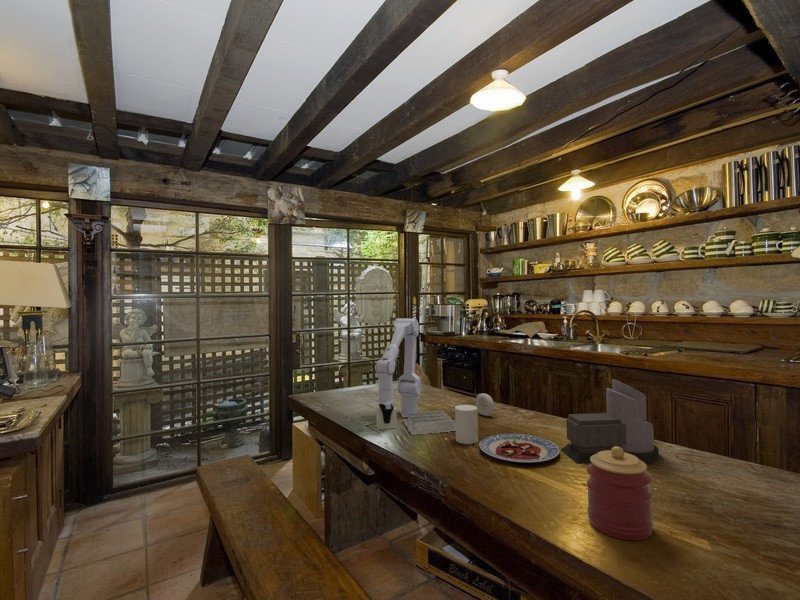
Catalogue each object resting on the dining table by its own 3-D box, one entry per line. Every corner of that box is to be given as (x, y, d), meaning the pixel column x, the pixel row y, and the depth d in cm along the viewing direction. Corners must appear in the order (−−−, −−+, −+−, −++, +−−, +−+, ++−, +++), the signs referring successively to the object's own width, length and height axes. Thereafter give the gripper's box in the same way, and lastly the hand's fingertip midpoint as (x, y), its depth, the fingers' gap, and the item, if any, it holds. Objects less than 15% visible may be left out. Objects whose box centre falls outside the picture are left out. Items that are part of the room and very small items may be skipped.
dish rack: (403, 421, 173) (402, 412, 173) (448, 418, 176) (447, 409, 176) (411, 435, 155) (410, 425, 155) (461, 431, 159) (460, 421, 159)
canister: (630, 509, 98) (628, 436, 98) (667, 541, 85) (665, 456, 85) (577, 511, 97) (575, 438, 97) (606, 543, 84) (604, 458, 84)
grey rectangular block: (376, 428, 165) (376, 408, 165) (395, 426, 166) (395, 407, 167) (377, 429, 163) (376, 410, 163) (396, 428, 164) (396, 408, 165)
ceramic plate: (567, 471, 121) (566, 461, 121) (479, 466, 126) (479, 456, 126) (552, 441, 146) (552, 433, 146) (479, 438, 151) (479, 430, 151)
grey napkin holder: (641, 444, 140) (639, 374, 140) (675, 462, 124) (673, 383, 125) (557, 448, 139) (555, 377, 139) (580, 467, 123) (578, 386, 123)
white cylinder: (479, 443, 144) (479, 410, 144) (457, 444, 145) (456, 410, 145) (476, 436, 153) (475, 404, 153) (454, 436, 153) (453, 405, 153)
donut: (474, 414, 182) (473, 392, 182) (479, 413, 184) (479, 391, 184) (491, 419, 174) (490, 396, 174) (496, 417, 176) (495, 394, 176)
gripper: (374, 386, 171) (374, 418, 171) (377, 393, 157) (378, 428, 157) (390, 385, 173) (391, 416, 172) (395, 392, 158) (396, 427, 158)
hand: (386, 422), depth 165 cm, fingers closed on grey rectangular block, 2 cm apart
